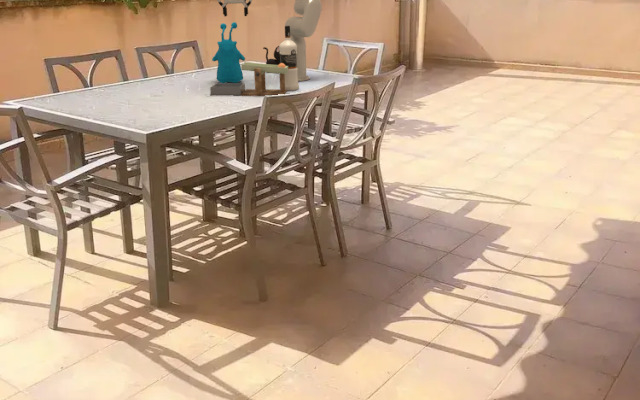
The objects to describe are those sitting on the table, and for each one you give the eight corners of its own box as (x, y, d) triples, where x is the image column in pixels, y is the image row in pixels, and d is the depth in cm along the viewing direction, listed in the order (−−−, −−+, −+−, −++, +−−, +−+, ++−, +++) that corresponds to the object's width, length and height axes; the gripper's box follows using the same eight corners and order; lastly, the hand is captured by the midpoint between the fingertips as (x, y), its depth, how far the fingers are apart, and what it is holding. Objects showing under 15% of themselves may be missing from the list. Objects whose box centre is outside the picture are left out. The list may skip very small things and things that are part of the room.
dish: (216, 91, 331) (215, 83, 329) (245, 91, 329) (244, 83, 328) (210, 95, 321) (210, 87, 320) (240, 95, 319) (240, 87, 318)
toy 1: (247, 78, 364) (244, 20, 354) (245, 84, 347) (242, 23, 337) (216, 79, 364) (212, 20, 354) (212, 85, 347) (207, 24, 337)
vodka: (292, 87, 338) (290, 24, 328) (302, 89, 331) (301, 25, 321) (276, 89, 334) (273, 25, 324) (286, 92, 326) (283, 27, 316)
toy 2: (284, 74, 375) (284, 46, 370) (261, 73, 380) (259, 45, 375) (291, 72, 382) (290, 44, 377) (267, 71, 387) (266, 43, 382)
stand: (286, 91, 327) (285, 64, 323) (283, 96, 317) (282, 68, 313) (246, 91, 329) (245, 65, 325) (241, 95, 319) (239, 68, 315)
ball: (278, 69, 320) (279, 62, 319) (285, 70, 320) (286, 63, 319) (276, 70, 317) (277, 63, 316) (284, 72, 317) (285, 64, 316)
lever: (290, 71, 331) (291, 62, 330) (285, 77, 316) (286, 68, 315) (246, 67, 333) (246, 59, 332) (239, 73, 318) (239, 64, 316)
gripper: (253, -23, 324) (255, 15, 329) (217, -22, 325) (219, 15, 331) (250, -22, 317) (252, 16, 322) (213, -22, 318) (216, 17, 324)
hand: (235, 16), depth 327 cm, fingers open, 9 cm apart
